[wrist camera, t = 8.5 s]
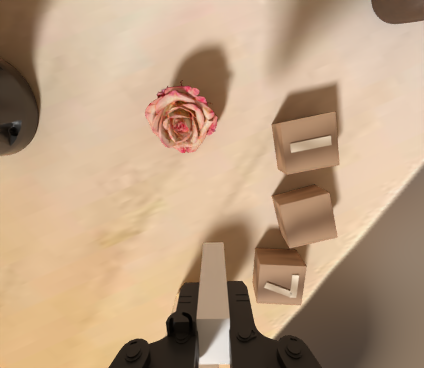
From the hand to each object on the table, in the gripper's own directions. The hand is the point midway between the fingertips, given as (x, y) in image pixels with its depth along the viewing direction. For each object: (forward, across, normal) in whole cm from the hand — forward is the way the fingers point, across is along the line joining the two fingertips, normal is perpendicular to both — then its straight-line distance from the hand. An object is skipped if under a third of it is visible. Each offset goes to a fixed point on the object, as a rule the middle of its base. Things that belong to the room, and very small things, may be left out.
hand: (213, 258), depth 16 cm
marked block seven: (+19, +10, -15) cm, 26 cm away
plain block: (+20, +14, -4) cm, 24 cm away
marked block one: (+20, +13, +7) cm, 25 cm away
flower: (+20, -4, +10) cm, 23 cm away
